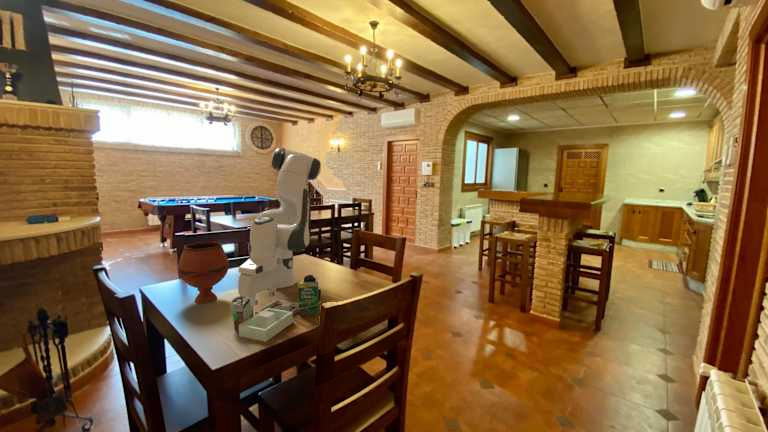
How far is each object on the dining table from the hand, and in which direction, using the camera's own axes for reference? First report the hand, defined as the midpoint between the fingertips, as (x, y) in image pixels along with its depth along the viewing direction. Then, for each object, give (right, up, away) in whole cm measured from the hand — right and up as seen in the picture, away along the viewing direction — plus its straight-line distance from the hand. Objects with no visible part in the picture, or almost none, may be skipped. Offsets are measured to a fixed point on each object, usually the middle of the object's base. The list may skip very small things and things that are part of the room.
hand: (263, 300), depth 113 cm
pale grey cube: (+3, -9, +15) cm, 18 cm away
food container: (-10, -10, +3) cm, 15 cm away
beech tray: (+1, -9, +16) cm, 19 cm away
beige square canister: (+11, -8, +27) cm, 30 cm away
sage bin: (+1, -11, +1) cm, 11 cm away
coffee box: (+13, -10, +15) cm, 22 cm away
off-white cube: (+1, -10, +1) cm, 10 cm away
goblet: (-36, -7, +26) cm, 45 cm away
